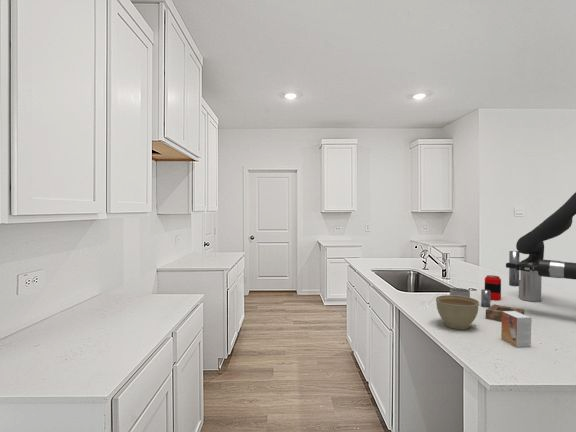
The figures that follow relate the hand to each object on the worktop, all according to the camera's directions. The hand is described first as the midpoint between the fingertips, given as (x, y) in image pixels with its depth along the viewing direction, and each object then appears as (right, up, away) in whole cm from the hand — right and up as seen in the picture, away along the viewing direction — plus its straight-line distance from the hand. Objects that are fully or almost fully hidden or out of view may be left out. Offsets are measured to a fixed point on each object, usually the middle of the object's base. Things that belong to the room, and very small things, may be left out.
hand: (507, 264), depth 168 cm
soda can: (+5, -21, +22) cm, 31 cm away
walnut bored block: (-9, -22, -12) cm, 27 cm away
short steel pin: (-6, -22, +7) cm, 24 cm away
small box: (-21, -23, -39) cm, 50 cm away
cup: (-23, -22, 0) cm, 32 cm away
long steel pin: (+2, -10, -2) cm, 10 cm away
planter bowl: (-34, -23, -21) cm, 46 cm away
